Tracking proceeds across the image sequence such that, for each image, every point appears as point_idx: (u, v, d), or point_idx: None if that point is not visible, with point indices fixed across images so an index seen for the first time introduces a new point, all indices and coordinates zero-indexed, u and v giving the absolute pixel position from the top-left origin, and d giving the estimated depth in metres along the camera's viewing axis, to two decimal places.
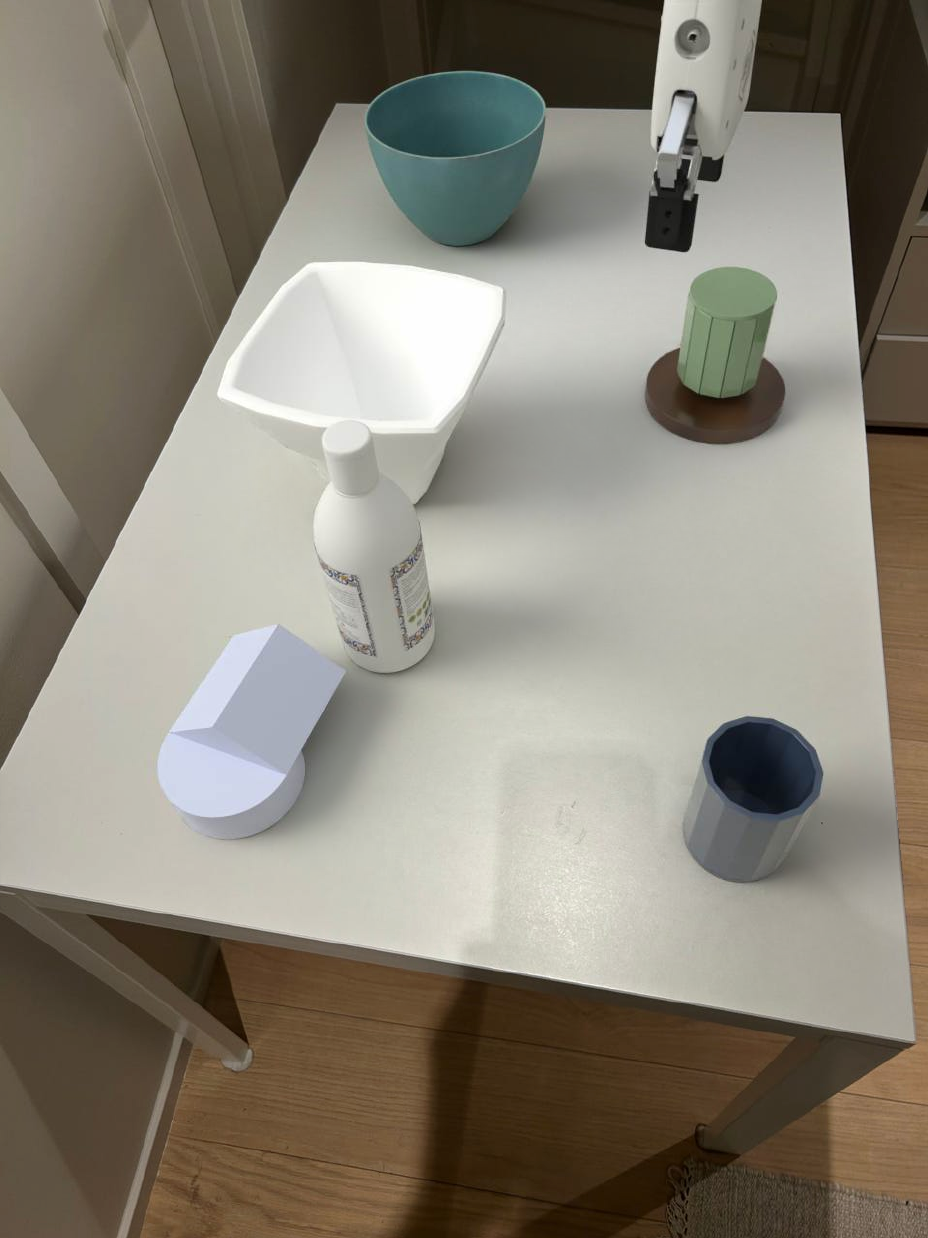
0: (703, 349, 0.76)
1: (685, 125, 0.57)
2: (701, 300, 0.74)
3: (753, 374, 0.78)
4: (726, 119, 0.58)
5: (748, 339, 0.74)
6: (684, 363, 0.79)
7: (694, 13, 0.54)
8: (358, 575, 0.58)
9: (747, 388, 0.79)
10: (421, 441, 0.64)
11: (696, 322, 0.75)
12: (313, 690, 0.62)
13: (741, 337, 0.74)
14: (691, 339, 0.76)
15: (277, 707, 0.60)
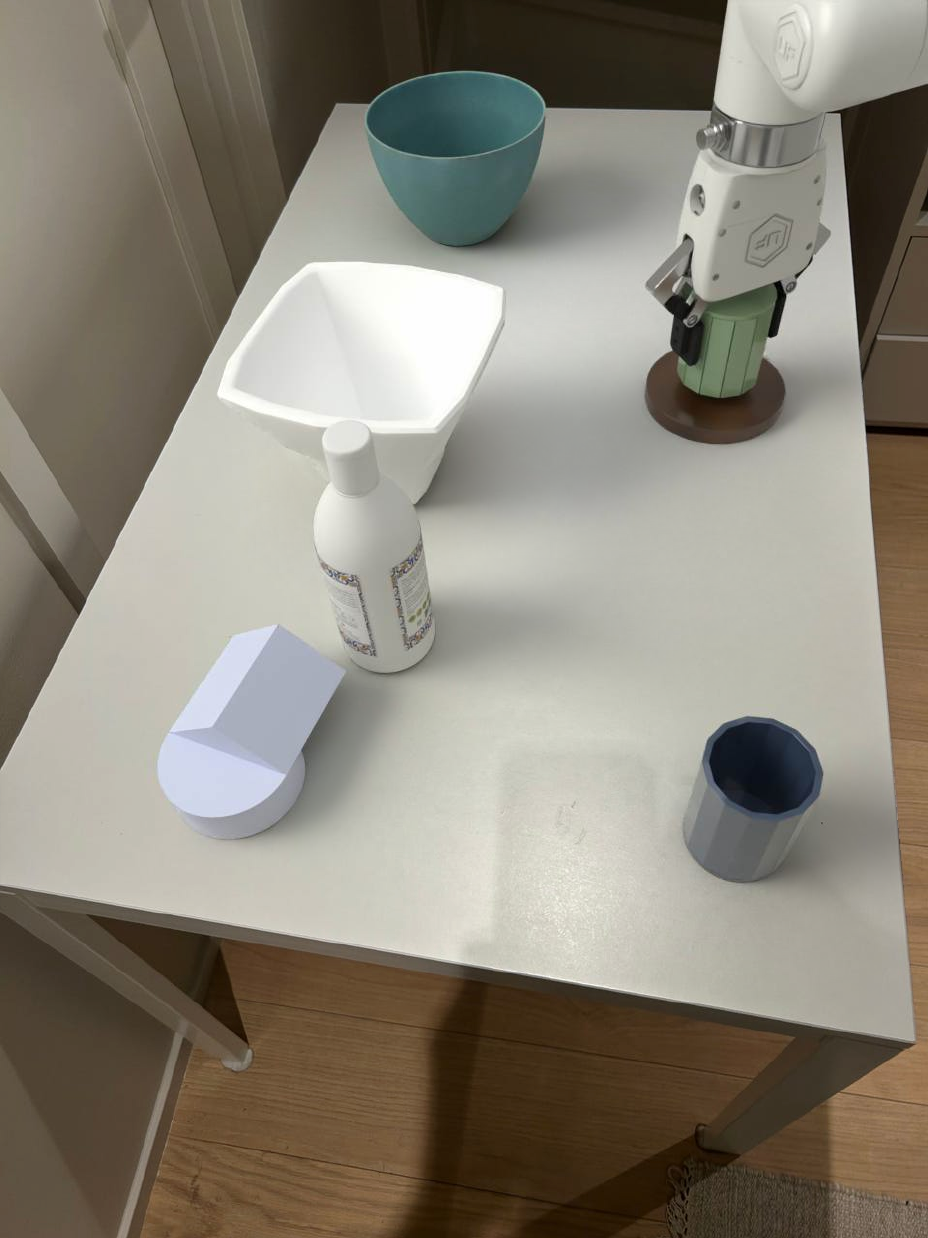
0: (703, 349, 0.76)
1: (673, 268, 0.69)
2: None
3: (753, 374, 0.78)
4: (712, 272, 0.69)
5: (748, 339, 0.74)
6: (684, 363, 0.79)
7: (701, 180, 0.65)
8: (358, 575, 0.58)
9: (747, 388, 0.79)
10: (421, 441, 0.64)
11: None
12: (313, 690, 0.62)
13: (741, 337, 0.74)
14: None
15: (277, 707, 0.60)
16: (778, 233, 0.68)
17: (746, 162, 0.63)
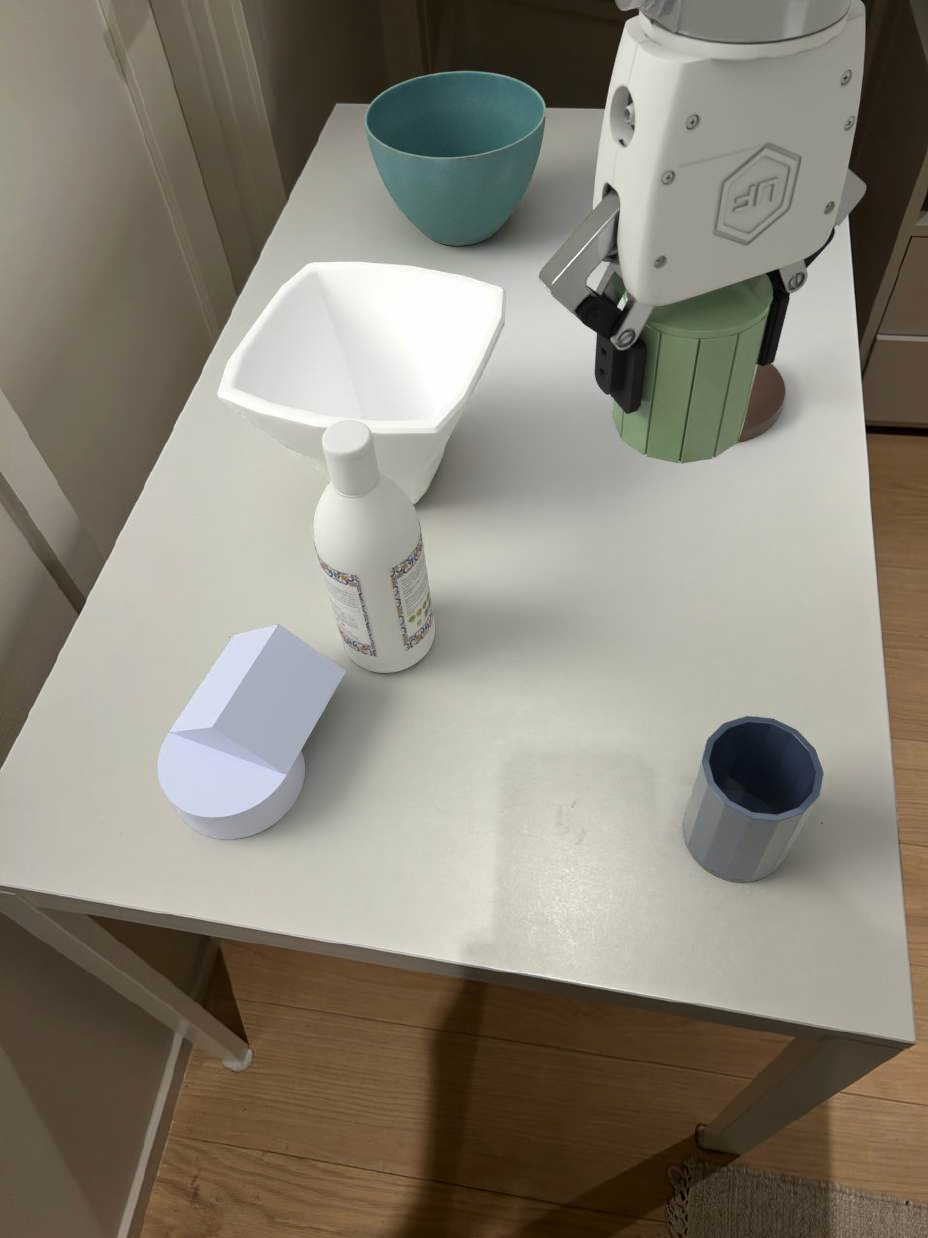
0: (649, 385, 0.45)
1: (585, 247, 0.39)
2: None
3: (734, 425, 0.47)
4: (654, 254, 0.38)
5: (724, 370, 0.43)
6: None
7: (628, 77, 0.35)
8: (358, 575, 0.58)
9: (724, 447, 0.48)
10: (421, 441, 0.64)
11: None
12: (313, 690, 0.62)
13: (711, 366, 0.43)
14: None
15: (277, 707, 0.60)
16: (774, 182, 0.37)
17: (710, 33, 0.32)
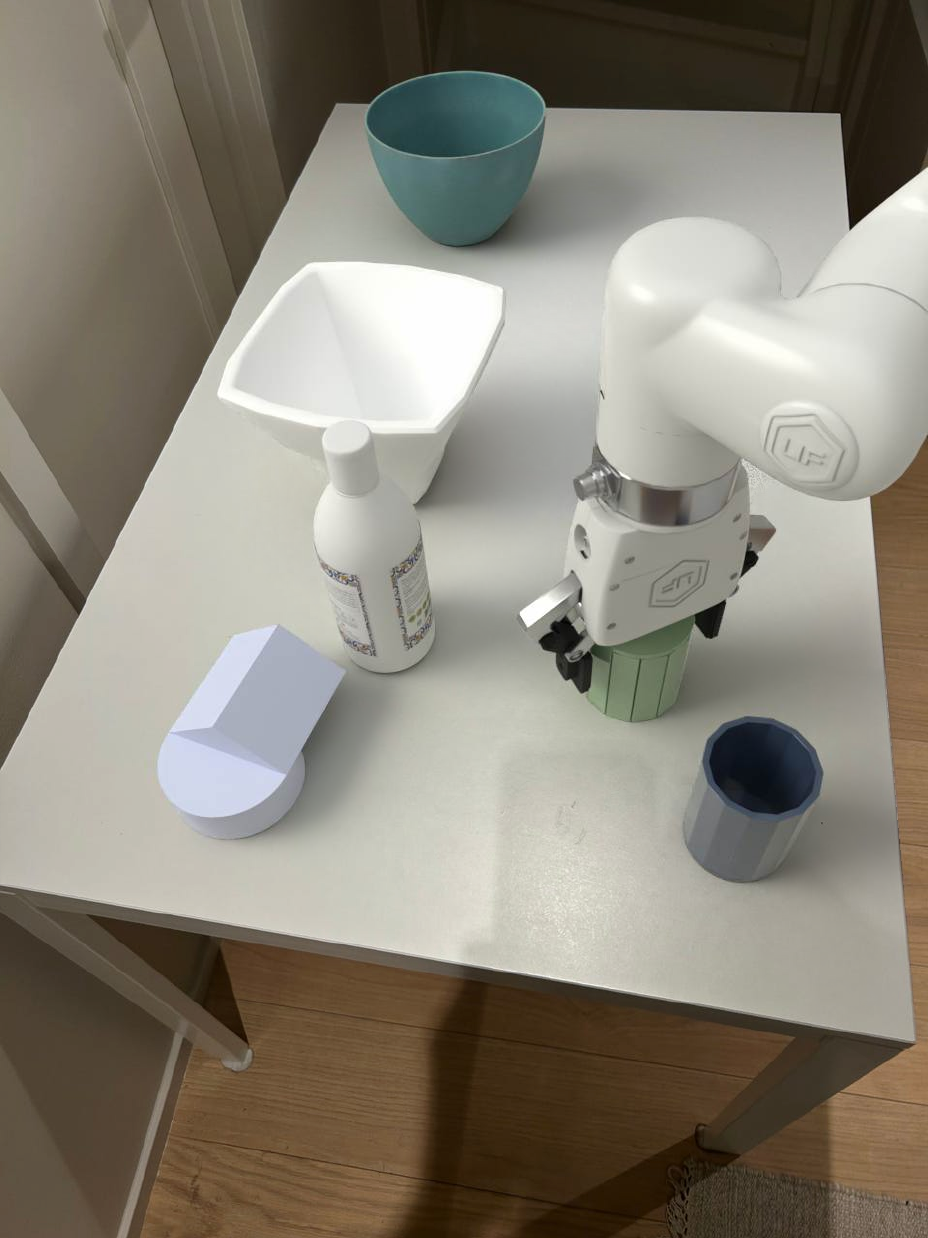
0: (605, 677, 0.61)
1: (554, 607, 0.54)
2: None
3: (670, 697, 0.63)
4: (607, 623, 0.53)
5: (659, 674, 0.59)
6: None
7: (585, 524, 0.50)
8: (358, 575, 0.58)
9: (664, 710, 0.64)
10: (421, 441, 0.64)
11: (595, 649, 0.60)
12: (313, 690, 0.62)
13: (650, 672, 0.59)
14: None
15: (277, 707, 0.60)
16: (690, 575, 0.53)
17: (638, 519, 0.48)
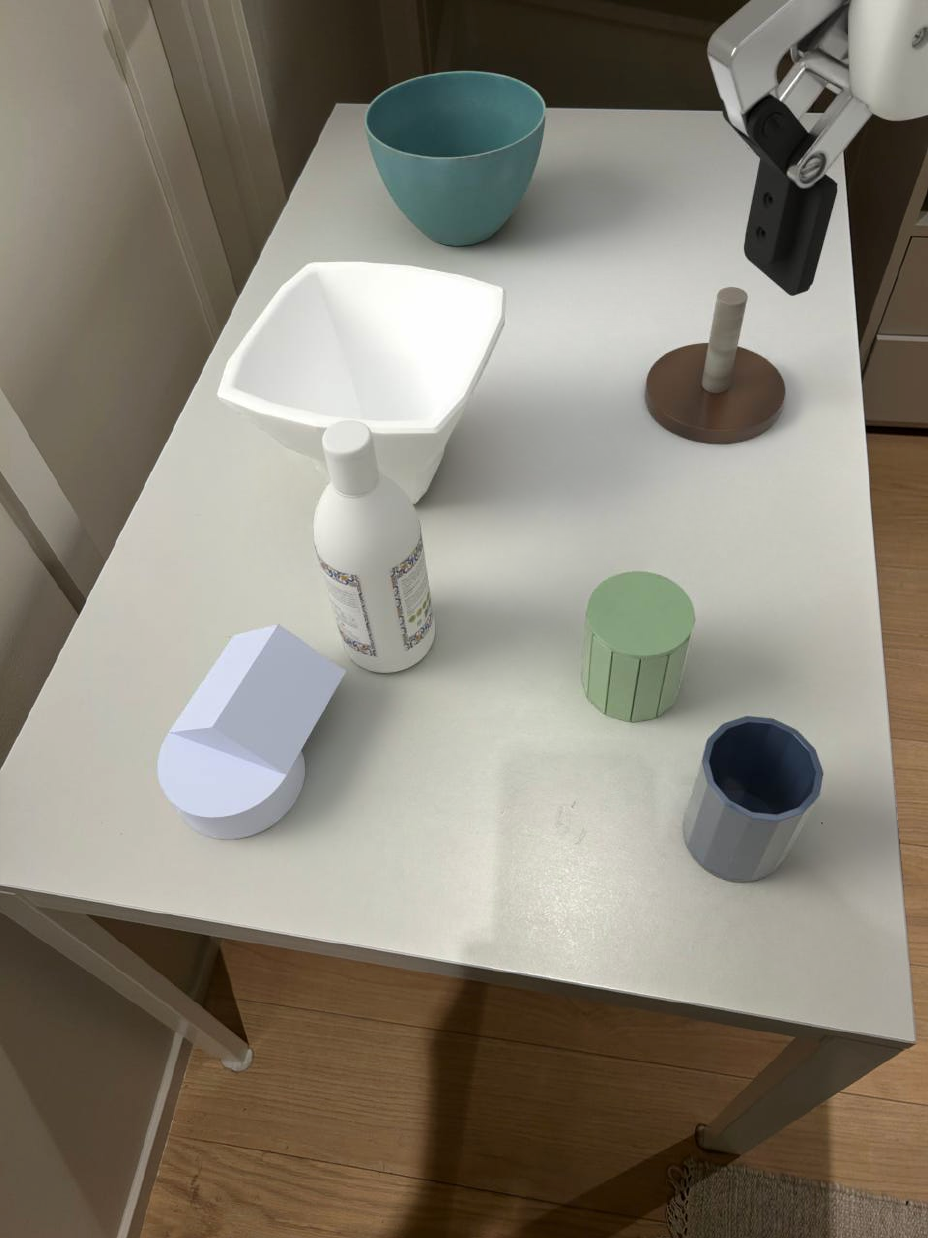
0: (605, 677, 0.61)
1: None
2: (599, 626, 0.59)
3: (670, 697, 0.63)
4: (916, 22, 0.25)
5: (659, 674, 0.59)
6: (586, 679, 0.64)
7: None
8: (358, 575, 0.58)
9: (664, 710, 0.64)
10: (421, 441, 0.64)
11: (595, 649, 0.60)
12: (313, 690, 0.62)
13: (650, 672, 0.59)
14: (591, 662, 0.61)
15: (277, 707, 0.60)
16: None
17: None
